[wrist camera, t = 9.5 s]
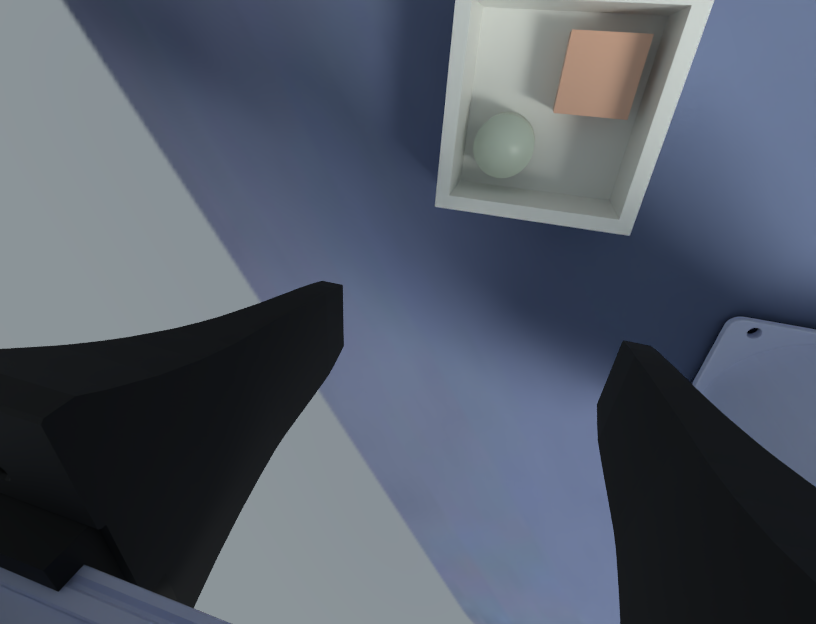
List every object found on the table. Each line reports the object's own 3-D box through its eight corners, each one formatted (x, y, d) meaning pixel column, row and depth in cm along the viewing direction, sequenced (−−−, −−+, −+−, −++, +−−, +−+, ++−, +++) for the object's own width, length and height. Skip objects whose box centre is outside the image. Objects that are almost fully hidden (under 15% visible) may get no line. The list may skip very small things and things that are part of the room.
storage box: (688, -2, 13) (720, -18, 11) (617, 211, 17) (629, 235, 14) (472, -10, 15) (457, -26, 12) (449, 188, 18) (434, 206, 16)
